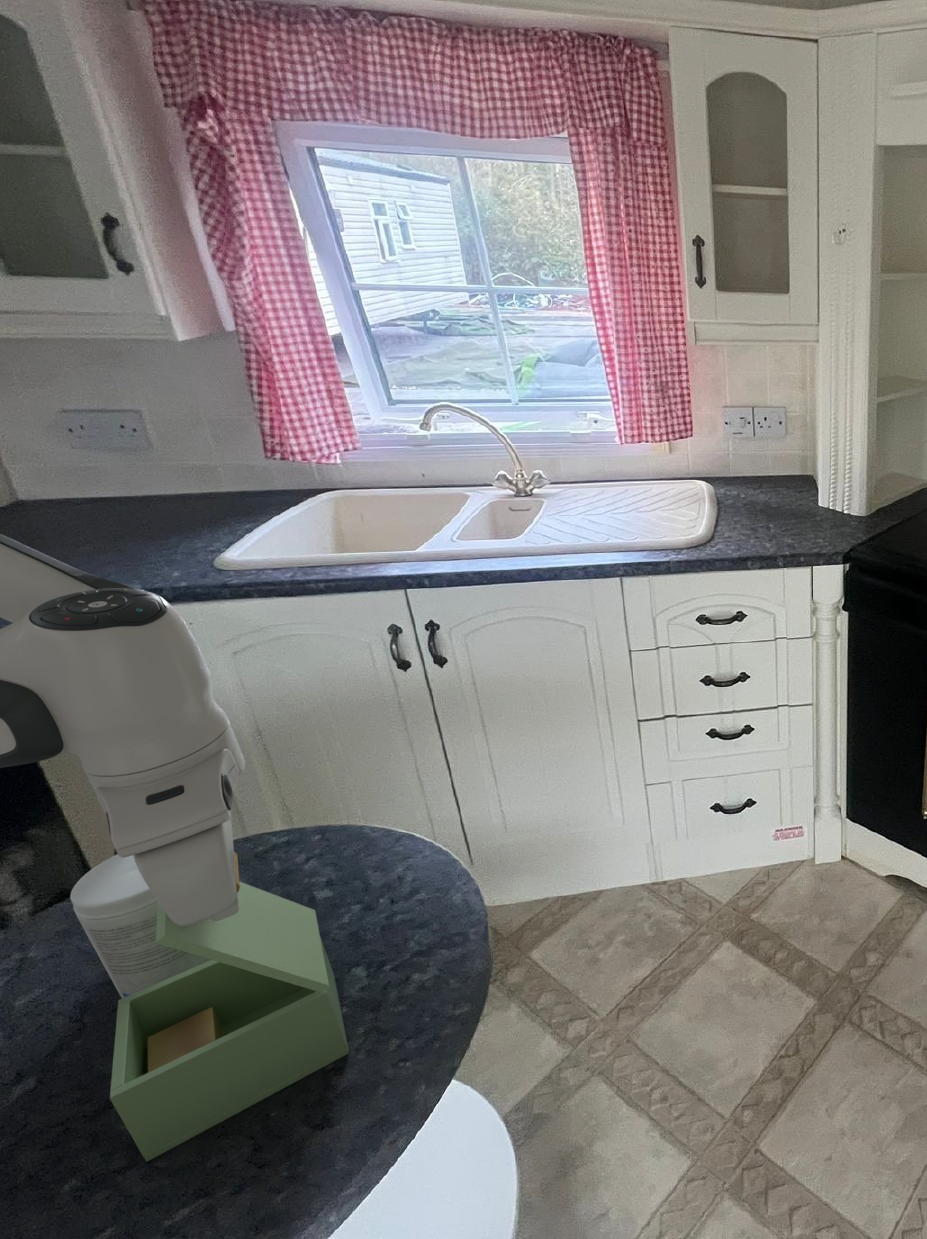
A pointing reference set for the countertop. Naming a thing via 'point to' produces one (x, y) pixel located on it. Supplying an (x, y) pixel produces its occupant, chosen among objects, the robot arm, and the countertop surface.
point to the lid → (256, 938)
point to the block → (183, 1038)
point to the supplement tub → (126, 926)
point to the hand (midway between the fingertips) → (225, 891)
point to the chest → (218, 1049)
